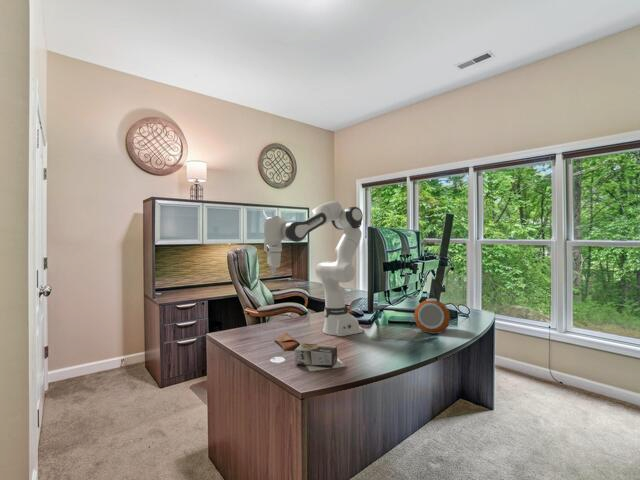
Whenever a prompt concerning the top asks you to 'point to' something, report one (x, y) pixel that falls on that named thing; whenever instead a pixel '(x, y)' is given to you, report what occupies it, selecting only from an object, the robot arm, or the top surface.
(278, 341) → the sunglasses case
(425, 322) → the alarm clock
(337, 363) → the felt pad
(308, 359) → the coffee box
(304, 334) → the top surface
